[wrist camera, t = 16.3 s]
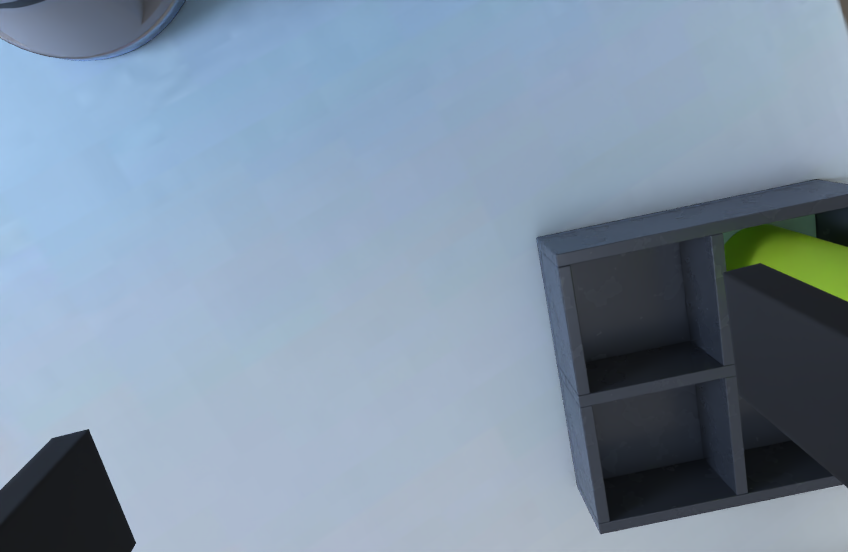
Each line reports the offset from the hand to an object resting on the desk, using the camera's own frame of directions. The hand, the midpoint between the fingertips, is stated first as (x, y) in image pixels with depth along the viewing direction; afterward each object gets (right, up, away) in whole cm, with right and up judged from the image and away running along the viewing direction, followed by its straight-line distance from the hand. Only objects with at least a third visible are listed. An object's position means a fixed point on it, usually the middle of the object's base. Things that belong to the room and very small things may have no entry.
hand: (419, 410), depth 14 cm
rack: (+19, -2, +34) cm, 39 cm away
